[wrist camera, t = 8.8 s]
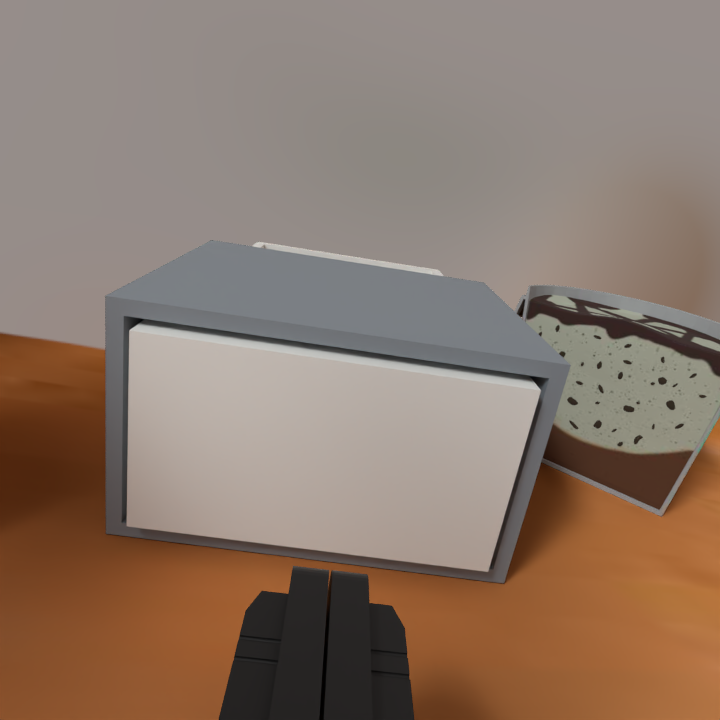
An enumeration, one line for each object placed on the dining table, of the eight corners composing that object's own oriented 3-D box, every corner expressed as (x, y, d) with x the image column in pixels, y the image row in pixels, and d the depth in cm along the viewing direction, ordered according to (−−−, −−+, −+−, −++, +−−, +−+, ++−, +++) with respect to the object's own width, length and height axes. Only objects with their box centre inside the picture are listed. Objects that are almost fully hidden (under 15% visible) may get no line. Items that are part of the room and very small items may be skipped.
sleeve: (504, 583, 22) (570, 365, 19) (105, 533, 21) (105, 295, 18) (449, 427, 35) (483, 282, 32) (202, 392, 35) (211, 240, 31)
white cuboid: (488, 572, 21) (540, 390, 19) (126, 526, 21) (129, 330, 18) (420, 359, 45) (439, 264, 42) (249, 333, 44) (258, 236, 41)
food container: (708, 489, 33) (776, 332, 30) (692, 530, 28) (771, 350, 25) (519, 411, 40) (557, 277, 36) (481, 435, 35) (520, 283, 32)
